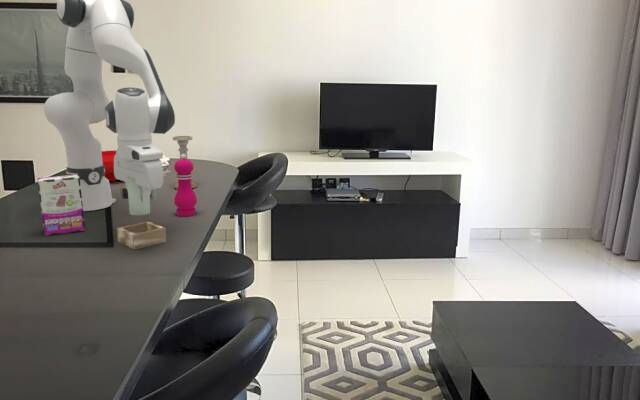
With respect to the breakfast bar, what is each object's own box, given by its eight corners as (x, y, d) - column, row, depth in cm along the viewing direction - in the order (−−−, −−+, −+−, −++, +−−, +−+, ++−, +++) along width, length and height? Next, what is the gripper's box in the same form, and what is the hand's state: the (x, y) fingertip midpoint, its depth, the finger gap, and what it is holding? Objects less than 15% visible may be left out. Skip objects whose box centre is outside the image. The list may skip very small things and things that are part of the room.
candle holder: (201, 186, 222) (198, 136, 217) (185, 191, 214) (182, 139, 209) (185, 184, 226) (182, 135, 221) (169, 188, 219) (166, 137, 214)
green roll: (125, 212, 152) (122, 177, 149) (143, 208, 156) (141, 174, 153) (135, 216, 148) (133, 180, 146) (154, 212, 152) (151, 177, 149)
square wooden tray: (117, 241, 154) (116, 228, 153) (148, 234, 160) (147, 221, 159) (135, 249, 147) (134, 235, 146) (166, 241, 154) (165, 228, 153)
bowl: (162, 175, 244) (160, 152, 242) (111, 188, 217) (109, 163, 215) (110, 169, 256) (108, 148, 254) (55, 181, 229) (53, 157, 227)
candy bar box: (84, 226, 167) (79, 173, 163) (85, 231, 163) (80, 177, 159) (43, 231, 162) (36, 177, 158) (43, 236, 158) (37, 180, 154)
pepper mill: (192, 217, 178) (188, 156, 173) (171, 216, 179) (167, 155, 174) (201, 211, 185) (198, 152, 180) (181, 210, 186) (177, 152, 181)
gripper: (105, 146, 152) (110, 195, 156) (144, 155, 139) (147, 208, 142) (127, 144, 157) (130, 191, 160) (166, 152, 143) (169, 204, 146)
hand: (139, 199), depth 151 cm, fingers closed on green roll, 5 cm apart
